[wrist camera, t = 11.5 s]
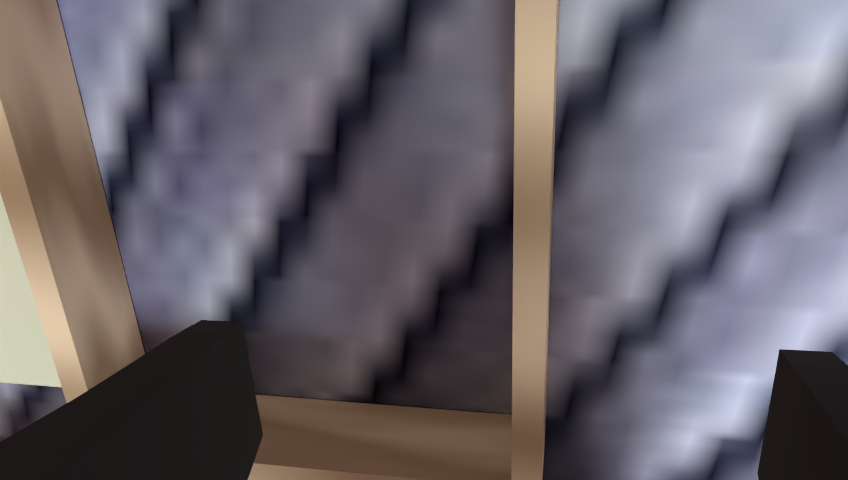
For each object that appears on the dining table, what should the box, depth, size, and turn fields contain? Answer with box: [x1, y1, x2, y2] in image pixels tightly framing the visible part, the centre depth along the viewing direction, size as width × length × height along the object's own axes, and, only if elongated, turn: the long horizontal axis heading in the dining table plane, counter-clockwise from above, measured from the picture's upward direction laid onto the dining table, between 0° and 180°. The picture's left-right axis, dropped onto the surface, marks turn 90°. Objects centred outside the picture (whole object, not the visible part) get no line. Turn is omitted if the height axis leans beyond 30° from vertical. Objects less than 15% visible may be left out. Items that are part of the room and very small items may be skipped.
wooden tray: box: [0, 0, 559, 480], centre depth 20 cm, size 18×14×3 cm
